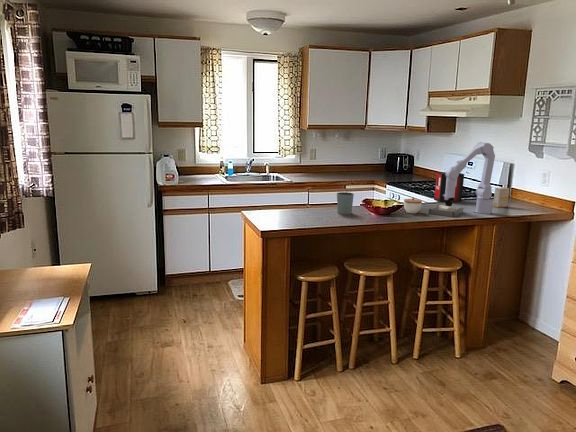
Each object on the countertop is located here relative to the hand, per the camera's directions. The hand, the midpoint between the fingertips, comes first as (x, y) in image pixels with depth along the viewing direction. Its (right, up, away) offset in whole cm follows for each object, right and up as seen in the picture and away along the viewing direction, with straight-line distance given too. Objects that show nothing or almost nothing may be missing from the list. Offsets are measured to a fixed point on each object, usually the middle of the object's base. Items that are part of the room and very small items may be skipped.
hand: (448, 209), depth 303 cm
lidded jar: (-24, -2, -5) cm, 25 cm away
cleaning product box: (+13, +7, +42) cm, 44 cm away
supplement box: (+44, +2, +25) cm, 50 cm away
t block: (-4, -2, -5) cm, 7 cm away
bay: (-2, -2, -3) cm, 4 cm away
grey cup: (-67, -2, -13) cm, 68 cm away
